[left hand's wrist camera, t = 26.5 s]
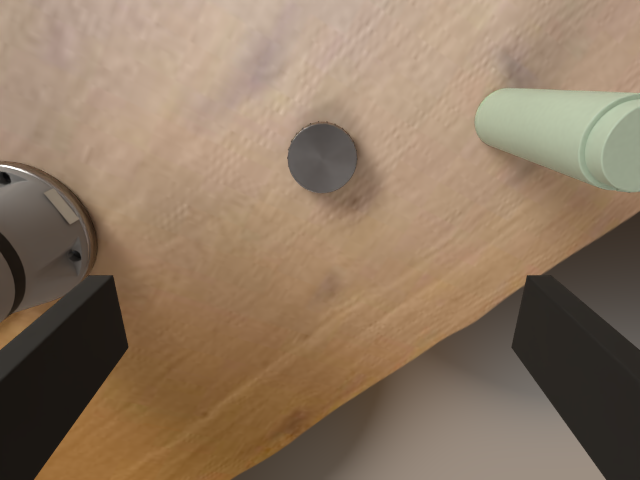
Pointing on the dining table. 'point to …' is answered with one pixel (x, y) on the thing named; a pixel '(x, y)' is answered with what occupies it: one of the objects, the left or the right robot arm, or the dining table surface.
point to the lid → (322, 157)
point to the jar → (568, 132)
